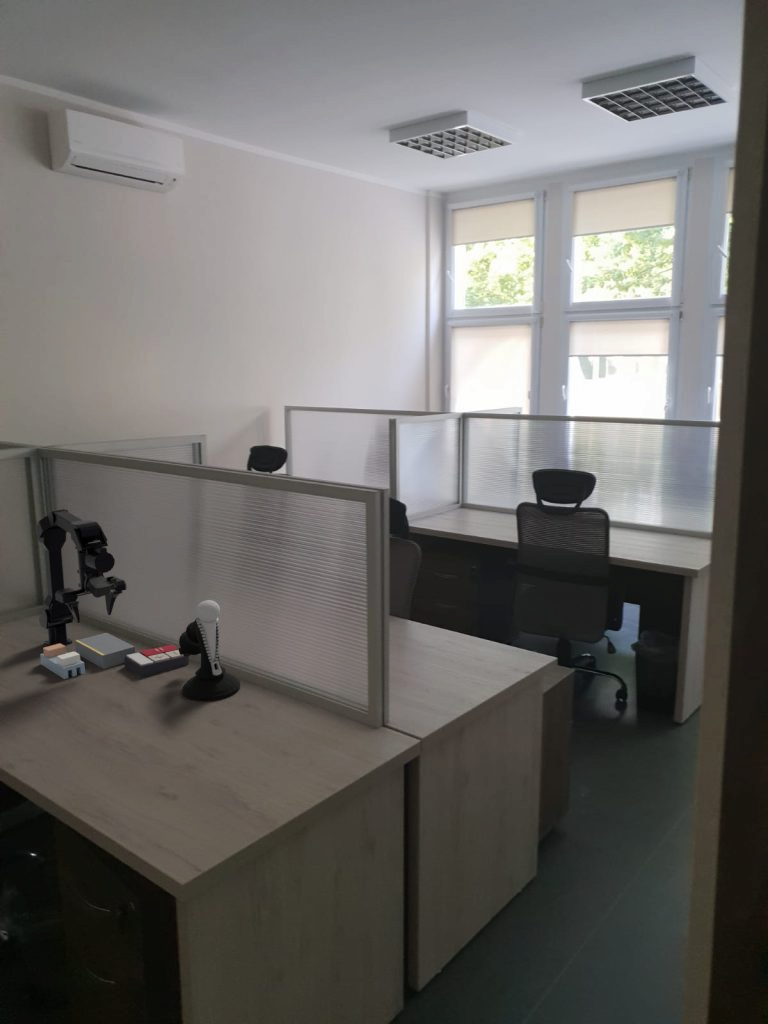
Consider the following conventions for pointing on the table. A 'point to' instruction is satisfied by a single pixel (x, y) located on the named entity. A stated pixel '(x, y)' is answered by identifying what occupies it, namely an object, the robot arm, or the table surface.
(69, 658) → the off-white block
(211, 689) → the sculpture
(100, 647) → the dock
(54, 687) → the table surface
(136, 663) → the grey red white box
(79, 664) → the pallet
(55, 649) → the salmon brown block
